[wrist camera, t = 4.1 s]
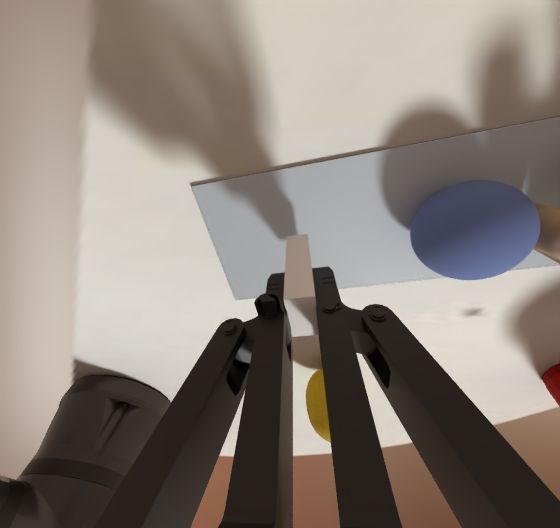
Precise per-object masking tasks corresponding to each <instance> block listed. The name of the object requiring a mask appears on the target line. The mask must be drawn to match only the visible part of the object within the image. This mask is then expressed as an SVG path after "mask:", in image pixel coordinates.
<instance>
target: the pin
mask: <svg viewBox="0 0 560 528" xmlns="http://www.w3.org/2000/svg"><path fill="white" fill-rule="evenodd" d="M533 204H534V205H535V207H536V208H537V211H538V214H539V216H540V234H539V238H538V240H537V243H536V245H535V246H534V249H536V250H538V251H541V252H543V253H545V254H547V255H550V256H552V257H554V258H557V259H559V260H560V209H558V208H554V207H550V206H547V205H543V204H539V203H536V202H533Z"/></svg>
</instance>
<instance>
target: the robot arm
mask: <svg viewBox="0 0 560 528" xmlns="http://www.w3.org/2000/svg"><path fill="white" fill-rule="evenodd" d="M254 304H255V307H256V310H257V312H258V316H257V317H255V318H254V319H252V320H249V321H246V322H242V321H241V320H240V319H237V318H233V319H229V320H226V321H225V322H223V323H222V324H221V325H220V326H219V327H218V329H217V330H216V332H215V334H214V335H213V337H212V338H211V340H210V342H209V343H208V345H207V346H206V348H205V350H204V351H203V353H202V354H201V356H200V358H199V359H198V361H197V362H196V364H195V366H194V367H193V369H192V370H191V372H190V374H189V375H188V377H187V378H186V380H185V382H184V383H183V385H182V386H181V388H180V390H179V391H178V393H177V394H176V396H175V398H174V399H173V401H172V402H171V403H170V402H169V401H168V400H167V399H166V398H165V397H164V396H163V395H161V394H160V393H159V392H157V391H155V390H153V389H152V388H150V387H147V386H145V385H143V384H140V383H137V382H135V381H131V380H128V379H124V378H119V377H113V376H87V377H83V378H80V379H78V380H77V381H75V382H74V384H73V385H72V386H71V387H70V389H69V390H68V391H67V392H66V393H65V395H64V396H63V397H62V399H61V401H60V404H59V408H58V410H57V412H56V414H55V416H54V418H53V420H52V422H51V424H50V426H49V428H48V431H47V433H46V435H45V437H44V439H43V442H42V444H41V446H40V448H39V450H38V452H37V453H36V455H35V456H34V458H33V459H32V460H31V462H30V463H29V464H28V466H27V467H26V468H25V470H24V471H23V472H22V474H21V475H20V476H19V477H18V478H17V480H14V479H10V478H7V477H4V476H1V475H0V528H190V527H191V525H192V522H193V519H194V517H195V515H196V512H197V509H198V507H199V504H200V502H201V500H202V497H203V494H204V492H205V489H206V487H207V484H208V482H209V479H210V477H211V474H212V472H213V469H214V467H215V464H216V462H217V459H218V457H219V454H220V452H221V449H222V447H223V444H224V442H225V439H226V437H227V434H228V432H229V429H230V427H231V424H232V422H233V419H234V416H235V414H236V411H237V409H238V406H239V404H240V401H241V399H242V396H243V394H244V391H245V396H244V401H243V407H242V413H241V419H240V425H239V431H238V436H237V442H236V448H235V454H234V460H233V466H232V472H231V478H230V483H229V490H228V495H227V501H226V507H225V512H224V516H223V519H222V522H221V523H220V525H219V527H218V528H293V346H292V341H291V334H292V337H297V336H309V335H319V342H320V350H321V359H322V368H323V377H324V386H325V395H326V404H327V412H328V421H329V430H330V439H331V448H332V456H333V466H334V474H335V483H336V492H337V501H338V510H339V519H340V528H402V525H401V522H400V519H399V515H398V512H397V508H396V504H395V500H394V496H393V493H392V488H391V485H390V481H389V477H388V473H387V469H386V465H385V462H384V458H383V454H382V450H381V446H380V442H379V439H378V435H377V431H376V427H375V423H374V419H373V416H372V412H371V408H370V404H369V400H368V396H367V393H366V389H365V385H364V381H363V377H362V374H361V370H360V366H359V362H358V358H357V354H356V353H360V354H362V356H363V357H364V359H365V361H366V362H367V364H368V366H369V368H370V369H371V371H372V373H373V375H374V376H375V378H376V380H377V381H378V383H379V385H380V387H381V388H382V390H383V392H384V394H385V395H386V397H387V399H388V400H389V402H390V404H391V406H392V407H393V409H394V411H395V413H396V414H397V416H398V418H399V420H400V421H401V423H402V425H403V426H404V428H405V430H406V432H407V433H408V435H409V437H410V439H411V440H412V442H413V444H414V445H415V447H416V449H417V451H418V452H419V454H420V456H421V458H422V459H423V461H424V463H425V464H426V466H427V468H428V470H429V471H430V473H431V475H432V477H433V478H434V480H435V482H436V483H437V485H438V487H439V489H440V490H441V492H442V494H443V495H444V497H445V499H446V501H447V503H448V504H449V506H450V508H451V509H452V511H453V513H454V515H455V516H456V518H457V520H458V522H459V523H460V525H461V527H462V528H560V501H559V500H558V499H557V498H556V496H555V495H554V494H553V493H552V492H551V491H550V490H549V488H548V487H547V486H546V485H545V484H544V483H543V482H542V481H541V479H540V478H539V477H538V476H537V475H536V474H535V473H534V471H533V470H532V469H531V468H530V467H529V466H528V465H527V464H526V462H525V461H524V460H523V459H522V458H521V457H520V456H519V455H518V453H517V452H516V451H515V450H514V449H513V448H512V447H511V445H510V444H509V443H508V442H507V441H506V440H505V439H504V437H503V436H502V435H501V434H500V433H499V432H498V431H497V430H496V428H495V427H494V426H493V425H492V424H491V423H490V422H489V420H488V419H487V418H486V417H485V416H484V415H483V414H482V412H481V411H480V410H479V409H478V408H477V407H476V406H475V405H474V403H473V402H472V401H471V400H470V399H469V398H468V397H467V395H466V394H465V393H464V392H463V391H462V390H461V389H460V388H459V386H458V385H457V384H456V383H455V382H454V381H453V380H452V378H451V377H450V376H449V375H448V374H447V373H446V372H445V371H444V369H443V368H442V367H441V366H440V365H439V364H438V363H437V361H436V360H435V359H434V358H433V357H432V356H431V355H430V354H429V352H428V351H427V350H426V349H425V348H424V347H423V346H422V344H421V343H420V342H419V341H418V340H417V339H416V338H415V337H414V335H413V334H412V333H411V332H410V331H409V330H408V329H407V327H406V326H405V325H404V324H403V323H402V322H401V321H400V319H399V318H398V317H397V316H396V315H395V314H394V313H393V312H392V311H391V310H390V309H389V308H388V307H385V306H383V305H378V304H373V305H368V306H366V307H365V308H364V309H363V310H356V309H351V308H349V307H347V306H345V305H344V304H343V303H342V302H341V299H340V296H339V292H338V288H337V284H336V280H335V276H334V272H333V270H332V269H331V268H330V267H329V266H327V267H319V268H312V264H311V256H310V248H309V240H308V234H301V235H294V236H287V241H286V259H285V272H283V273H274V274H271V275H270V277H269V278H268V280H267V287H266V293H264V294H262V295H260V296H259V297H258V298H257V299H256V300H255V302H254ZM245 389H246V390H245Z"/></svg>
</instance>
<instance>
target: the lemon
mask: <svg viewBox="0 0 560 528" xmlns="http://www.w3.org/2000/svg"><path fill="white" fill-rule="evenodd" d="M306 405H307V411H308V415H309V419H310V422H311V424H312V426H313V428H314V429H315V431H316V432H317V433H318V434H319V435H320V436H321V437H322V438H323V439H325V440H327V441H329V442H331V439H330V430H329V421H328V412H327V404H326V395H325V386H324V377H323V369H320V370H318V371H316V372H315V373H314V374H313V375H312V377H311V378H310V380H309V382H308V385H307V390H306Z"/></svg>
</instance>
